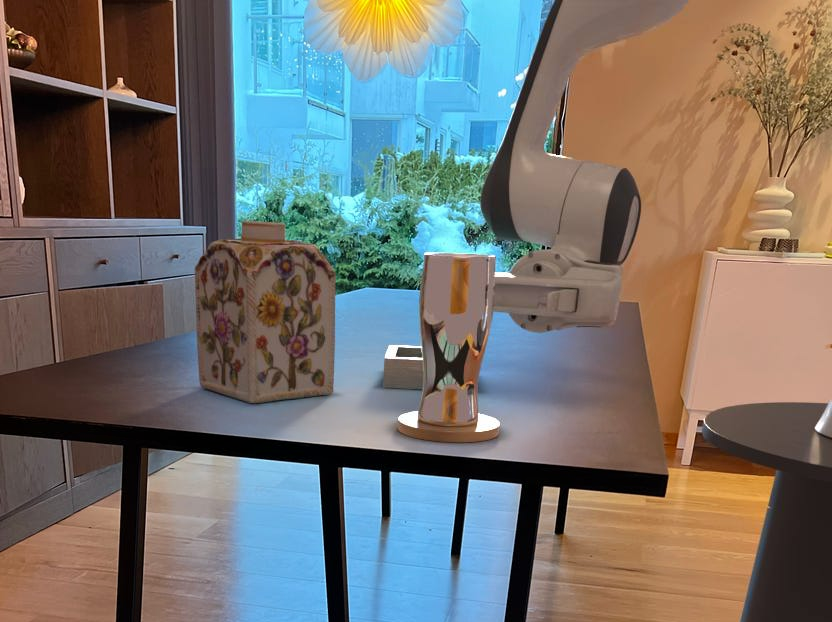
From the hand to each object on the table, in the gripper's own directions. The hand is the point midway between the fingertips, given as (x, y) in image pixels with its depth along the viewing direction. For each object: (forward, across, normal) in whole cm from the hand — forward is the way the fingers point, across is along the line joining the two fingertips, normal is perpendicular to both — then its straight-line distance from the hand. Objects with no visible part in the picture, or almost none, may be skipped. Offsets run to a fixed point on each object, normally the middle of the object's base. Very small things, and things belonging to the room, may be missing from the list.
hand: (500, 299), depth 92 cm
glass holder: (-14, -14, +12) cm, 22 cm away
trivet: (+11, 0, +12) cm, 16 cm away
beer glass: (+11, 0, +11) cm, 15 cm away
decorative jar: (+5, -26, +12) cm, 29 cm away
